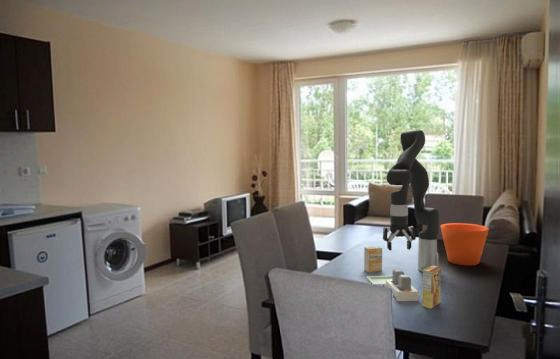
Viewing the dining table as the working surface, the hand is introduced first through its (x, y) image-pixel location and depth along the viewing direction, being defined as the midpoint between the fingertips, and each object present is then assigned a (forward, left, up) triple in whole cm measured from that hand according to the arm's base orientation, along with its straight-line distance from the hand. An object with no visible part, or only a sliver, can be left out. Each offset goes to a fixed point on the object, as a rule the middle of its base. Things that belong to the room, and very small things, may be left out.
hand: (399, 249), depth 185 cm
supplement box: (+4, -29, -19) cm, 35 cm away
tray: (+4, -10, -19) cm, 22 cm away
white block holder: (+1, +5, -19) cm, 19 cm away
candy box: (-7, +18, -19) cm, 27 cm away
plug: (+1, +1, -18) cm, 18 cm away
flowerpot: (-52, -44, -19) cm, 71 cm away
